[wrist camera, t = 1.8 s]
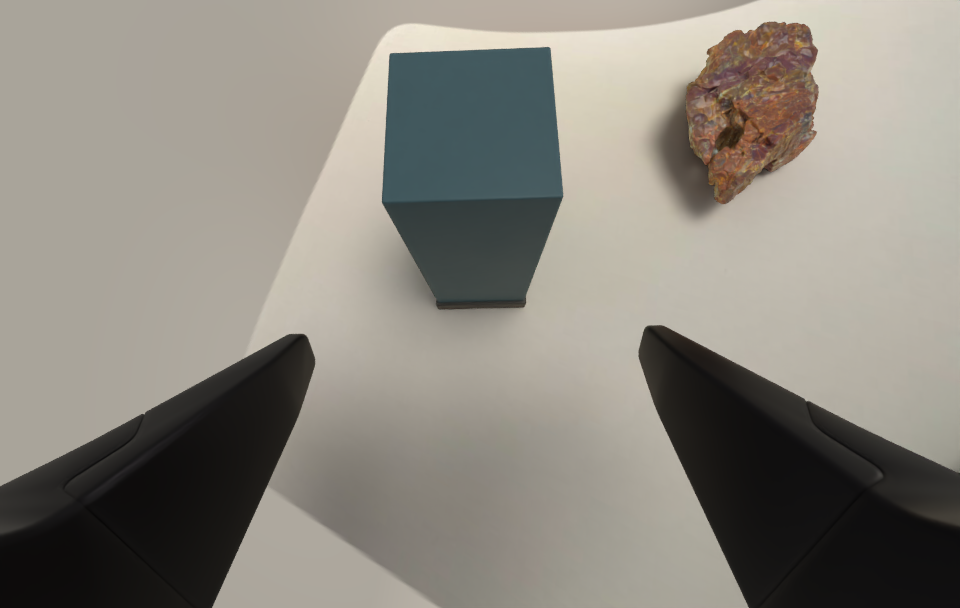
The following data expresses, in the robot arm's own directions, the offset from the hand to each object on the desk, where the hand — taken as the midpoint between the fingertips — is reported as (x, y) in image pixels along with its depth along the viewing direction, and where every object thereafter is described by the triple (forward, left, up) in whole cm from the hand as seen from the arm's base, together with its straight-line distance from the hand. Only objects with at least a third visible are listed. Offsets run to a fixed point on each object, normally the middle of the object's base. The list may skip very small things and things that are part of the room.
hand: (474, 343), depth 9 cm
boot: (+8, +4, -13) cm, 16 cm away
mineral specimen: (+22, -9, -13) cm, 27 cm away
